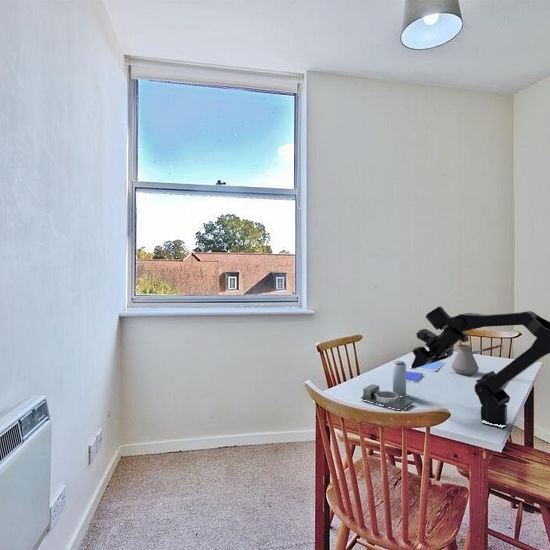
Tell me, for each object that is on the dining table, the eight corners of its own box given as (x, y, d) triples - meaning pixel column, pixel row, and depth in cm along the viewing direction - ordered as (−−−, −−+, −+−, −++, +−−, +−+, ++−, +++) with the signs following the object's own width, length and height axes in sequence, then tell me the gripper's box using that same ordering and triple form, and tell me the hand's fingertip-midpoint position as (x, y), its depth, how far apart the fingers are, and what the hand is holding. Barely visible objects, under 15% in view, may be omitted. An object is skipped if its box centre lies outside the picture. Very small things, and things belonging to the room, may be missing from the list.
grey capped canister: (408, 394, 143) (408, 362, 143) (402, 398, 139) (402, 364, 139) (396, 391, 146) (396, 359, 146) (390, 395, 143) (390, 362, 142)
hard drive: (404, 370, 172) (398, 377, 162) (423, 373, 168) (417, 380, 158) (405, 374, 172) (398, 381, 162) (423, 376, 168) (417, 384, 158)
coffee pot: (449, 373, 170) (448, 342, 169) (454, 368, 179) (453, 338, 179) (502, 381, 157) (502, 347, 157) (505, 375, 166) (504, 342, 166)
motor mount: (412, 404, 132) (412, 392, 132) (402, 411, 126) (402, 399, 126) (372, 394, 143) (372, 383, 143) (361, 400, 137) (361, 389, 137)
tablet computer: (419, 360, 196) (419, 358, 196) (444, 364, 188) (444, 361, 188) (409, 369, 180) (409, 366, 180) (436, 373, 173) (436, 370, 173)
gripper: (443, 320, 138) (418, 345, 147) (416, 325, 127) (390, 352, 136) (465, 343, 132) (437, 368, 140) (438, 350, 121) (410, 377, 129)
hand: (419, 365), depth 137 cm, fingers open, 9 cm apart
